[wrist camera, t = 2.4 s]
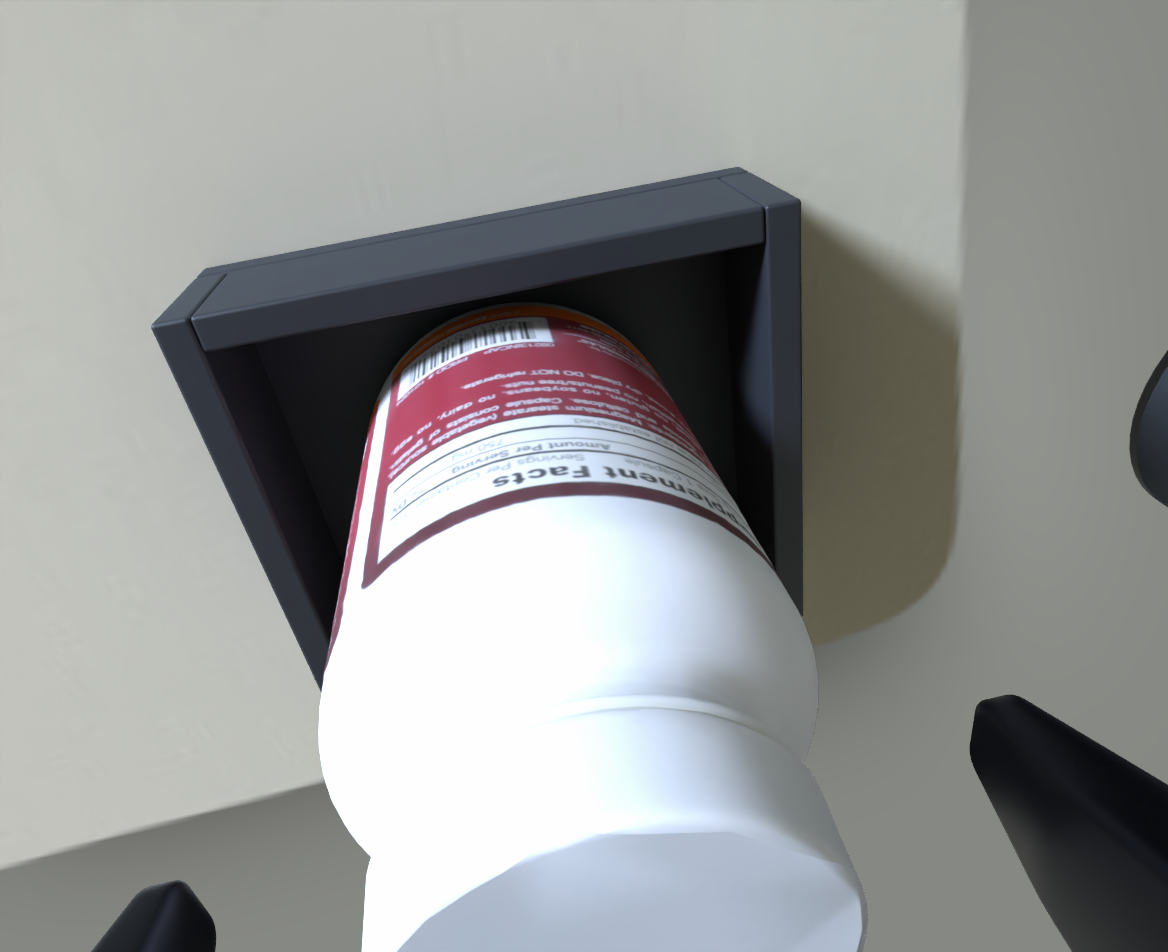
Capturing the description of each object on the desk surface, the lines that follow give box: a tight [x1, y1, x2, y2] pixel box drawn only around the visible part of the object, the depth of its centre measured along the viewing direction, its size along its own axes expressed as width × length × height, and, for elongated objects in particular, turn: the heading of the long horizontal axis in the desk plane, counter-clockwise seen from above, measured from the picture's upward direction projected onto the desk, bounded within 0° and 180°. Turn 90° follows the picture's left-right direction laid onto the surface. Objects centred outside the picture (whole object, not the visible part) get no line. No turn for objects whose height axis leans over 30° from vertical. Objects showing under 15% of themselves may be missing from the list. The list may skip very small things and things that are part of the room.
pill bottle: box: [318, 302, 868, 952], centre depth 12 cm, size 6×6×11 cm
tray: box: [152, 167, 803, 693], centre depth 16 cm, size 10×9×3 cm
